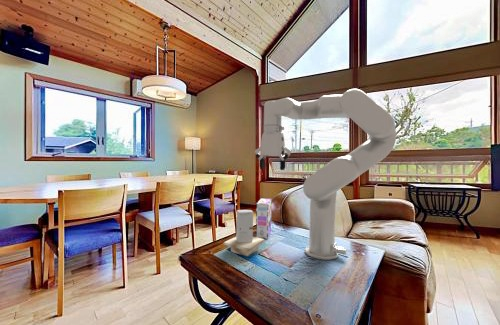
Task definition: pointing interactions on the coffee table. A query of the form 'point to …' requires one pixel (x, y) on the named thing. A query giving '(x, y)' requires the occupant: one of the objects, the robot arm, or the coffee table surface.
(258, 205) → the candy box
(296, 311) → the coffee table surface
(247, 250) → the cream square tile
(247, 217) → the skincare box
